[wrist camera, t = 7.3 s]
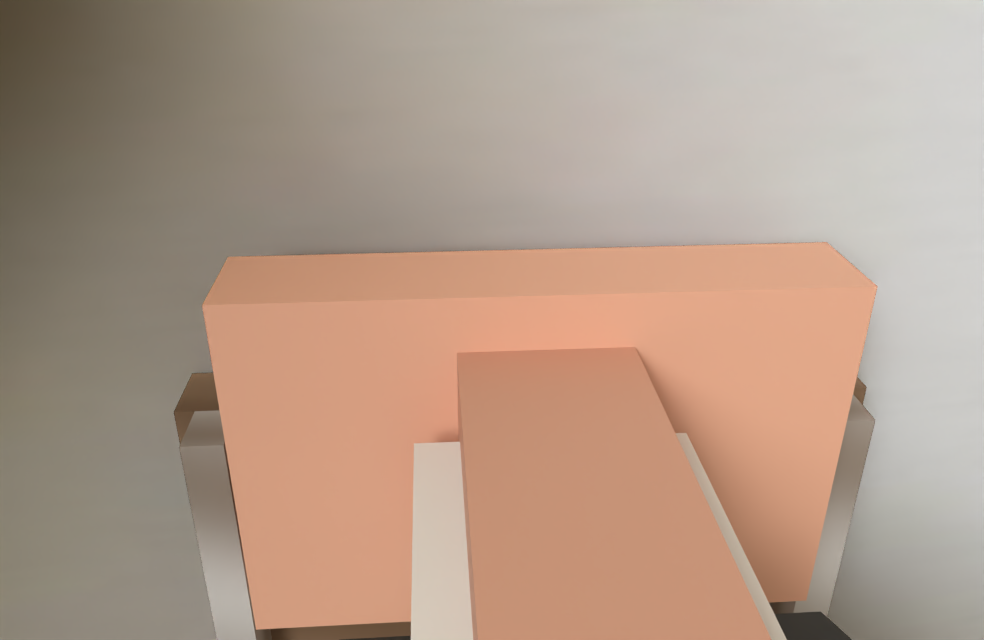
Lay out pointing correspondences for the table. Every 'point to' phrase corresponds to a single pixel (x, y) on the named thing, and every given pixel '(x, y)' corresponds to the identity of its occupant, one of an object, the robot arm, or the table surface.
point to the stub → (538, 428)
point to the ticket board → (240, 636)
